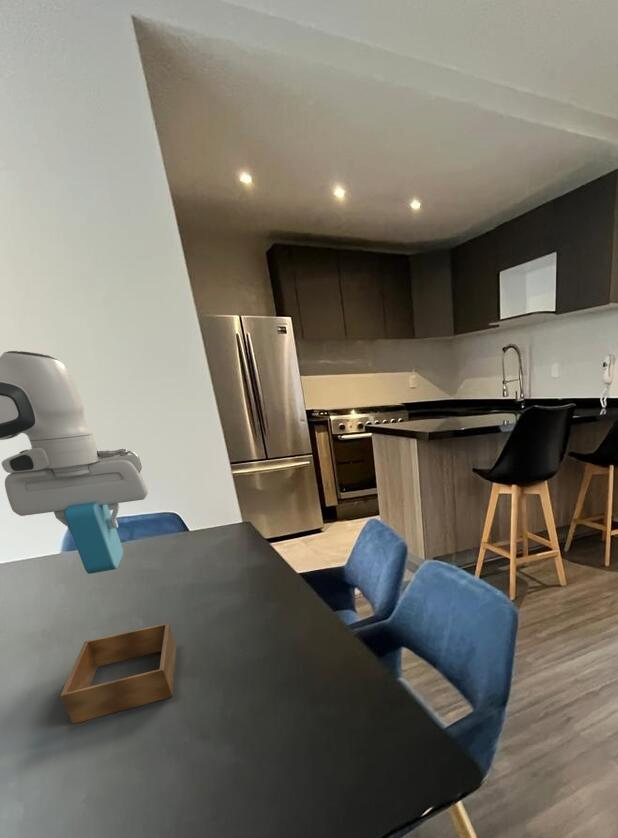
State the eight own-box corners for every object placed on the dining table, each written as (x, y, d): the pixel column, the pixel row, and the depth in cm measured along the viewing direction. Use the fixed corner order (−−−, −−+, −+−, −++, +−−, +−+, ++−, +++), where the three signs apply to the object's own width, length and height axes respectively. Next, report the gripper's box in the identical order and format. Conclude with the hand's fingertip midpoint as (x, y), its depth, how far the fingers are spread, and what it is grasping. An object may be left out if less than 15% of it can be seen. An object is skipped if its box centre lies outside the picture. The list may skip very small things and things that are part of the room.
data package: (98, 557, 97) (76, 497, 93) (124, 552, 99) (104, 494, 94) (87, 576, 87) (62, 510, 83) (116, 571, 89) (93, 506, 84)
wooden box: (72, 724, 72) (59, 696, 70) (94, 665, 87) (84, 641, 85) (172, 696, 77) (163, 669, 75) (176, 646, 92) (169, 622, 90)
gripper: (137, 445, 92) (159, 517, 97) (1, 459, 84) (33, 536, 90) (134, 449, 87) (157, 524, 92) (-12, 463, 79) (23, 545, 84)
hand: (94, 530), depth 91 cm, fingers closed on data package, 4 cm apart
